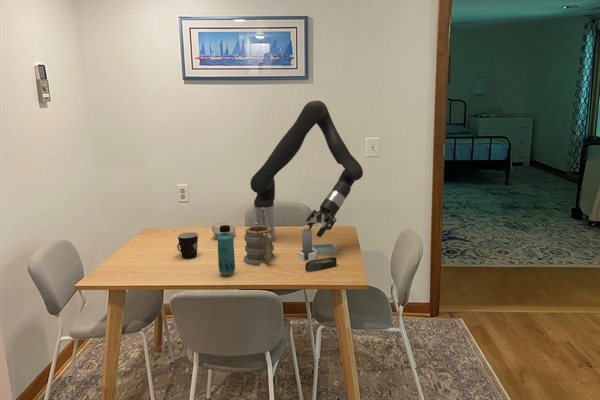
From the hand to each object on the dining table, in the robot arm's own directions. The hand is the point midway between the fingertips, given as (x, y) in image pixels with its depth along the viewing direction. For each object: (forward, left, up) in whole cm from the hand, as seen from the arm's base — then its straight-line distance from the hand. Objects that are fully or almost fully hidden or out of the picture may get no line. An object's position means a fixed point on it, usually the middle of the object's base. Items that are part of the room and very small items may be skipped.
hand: (311, 233), depth 197 cm
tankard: (-21, -1, -11) cm, 24 cm away
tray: (+6, +7, -11) cm, 14 cm away
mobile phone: (+1, -14, -11) cm, 18 cm away
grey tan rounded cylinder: (-2, -1, -10) cm, 10 cm away
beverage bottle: (-35, -12, -11) cm, 39 cm away
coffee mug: (-54, +11, -11) cm, 56 cm away
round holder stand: (-2, -1, -11) cm, 11 cm away
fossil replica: (-39, +38, -11) cm, 56 cm away
